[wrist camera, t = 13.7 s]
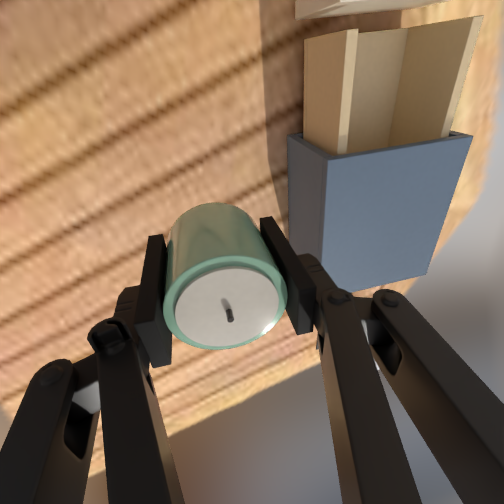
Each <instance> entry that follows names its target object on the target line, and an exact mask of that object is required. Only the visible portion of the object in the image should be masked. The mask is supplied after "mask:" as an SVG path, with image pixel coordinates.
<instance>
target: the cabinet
mask: <svg viewBox="0 0 504 504" xmlns="http://www.w3.org/2000/svg"><path fill="white" fill-rule="evenodd" d="M472 139H473V136H472V135H467V134H463V133H459V132H455V131H451V130H450V132H449V136H448V137H445V138H439V139H433V140H427V141H421V142H415V143H409V144H403V145H397V146H391V147H385V148H379V149H373V150H367V151H361V152H355V153H349V154H343V155H337V156H332V155H330V154H328V153H326V152H325V151H323V150H321V149H319V148H318V147H316V146H314V145H312V144H311V143H309V142H307V141H305V140H304V139H303V133H298V134H291V135H287V158H288V208H289V244H290V245H291V247H292V248H293V250H294V252H295V253H296V255H301V254H306V253H309V254H311V255H313V256H314V257H316V258H317V259H318V261H319V262H320V263H321V265H322V266H323V268H324V269H325V270H326V272H327V273H328V274H329V276H330V277H331V278H332V280H333V281H334V283H335V284H336V285H337V287H338V288H341V289H344V290H346V291H348V292H349V293H351V292H355V291H359V290H363V289H367V288H372V287H376V286H380V285H384V284H389V283H393V282H397V281H401V280H406V279H410V278H414V277H418V276H422V275H426V273H427V270H428V267H429V264H430V261H431V258H432V255H433V252H434V249H435V247H436V244H437V241H438V238H439V235H440V232H441V229H442V226H443V223H444V220H445V217H446V215H447V212H448V209H449V206H450V203H451V200H452V197H453V194H454V191H455V188H456V185H457V182H458V180H459V177H460V174H461V171H462V168H463V165H464V162H465V159H466V156H467V153H468V150H469V147H470V145H471V142H472Z"/></svg>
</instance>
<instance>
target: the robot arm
mask: <svg viewBox="0 0 504 504" xmlns="http://www.w3.org/2000/svg"><path fill="white" fill-rule="evenodd" d="M260 233H261V235H262V237H263V239H264V241H265V243H266V245H267V247H268V249H269V251H270V253H271V255H272V257H273V259H274V261H275V263H276V265H277V266H278V268H279V270H280V272H281V274H282V276H283V278H284V280H285V283H286V286H287V291H288V299H287V304H286V308H285V309H286V311H287V314H288V316H289V318H290V320H291V323H292V325H293V327H294V329H295V332H296V334H297V335H301V334H305V333H310V332H313V325H315V327H316V329H317V331H318V335H317V345H316V349H319V354H320V360H321V366H322V373H323V379H324V385H325V392H326V399H327V405H328V412H329V418H330V424H331V431H332V437H333V444H334V450H335V456H336V463H337V470H338V476H339V483H340V489H341V496H342V502H343V504H422V502H421V499H420V496H419V493H418V490H417V487H416V484H415V481H414V478H413V475H412V472H411V469H410V466H409V463H408V460H407V457H406V454H405V451H404V449H403V445H402V442H401V439H400V436H399V433H398V430H397V427H396V424H395V421H394V418H393V415H392V412H391V409H390V406H389V403H388V400H387V397H386V394H385V391H384V388H383V385H382V383H381V380H380V376H379V374H378V370H377V367H376V364H375V362H376V363H377V365H378V366H379V368H380V369H381V371H382V373H383V374H384V376H385V378H386V379H387V381H388V382H389V384H390V386H391V387H392V389H393V390H394V392H395V394H396V395H397V397H398V398H399V400H400V401H401V404H402V405H403V407H404V408H405V410H406V412H407V413H408V415H409V416H410V418H411V420H412V421H413V423H414V424H415V426H416V428H417V429H418V431H419V433H420V434H421V436H422V437H423V439H424V441H425V442H426V444H427V446H428V447H429V449H430V450H431V452H432V454H433V455H434V457H435V458H436V460H437V462H438V463H439V465H440V466H441V468H442V470H443V471H444V473H445V475H446V476H447V478H448V479H449V481H450V482H451V484H452V486H453V488H454V489H455V490H456V492H457V494H458V495H459V497H460V499H461V500H462V502H463V504H504V404H503V403H502V402H501V401H500V400H499V399H498V397H497V396H496V395H495V394H494V393H493V392H492V391H491V390H490V389H489V388H488V387H487V386H486V384H485V383H484V382H483V381H482V380H481V379H480V378H479V377H478V376H477V375H476V374H475V373H474V372H473V371H472V369H470V367H469V366H468V365H467V364H466V363H465V362H464V361H463V360H462V358H461V357H460V356H459V355H458V354H457V353H456V352H455V351H454V350H453V349H452V348H451V347H450V345H449V344H448V343H447V342H446V341H445V340H444V339H443V338H442V337H441V336H440V335H439V333H438V332H437V331H436V330H435V329H434V328H433V327H432V326H431V325H430V324H429V323H428V322H427V321H426V319H424V317H423V316H422V315H421V314H420V313H419V312H418V311H417V310H416V309H415V308H414V306H413V305H412V304H411V303H410V302H409V301H408V300H407V299H406V298H405V297H404V296H403V295H402V294H400V293H398V292H396V291H394V290H389V289H381V290H378V291H376V292H375V293H374V294H373V298H362V297H353V296H352V295H351V294H350V293H349V292H348V291H346V290H344V289H341V288H338V287H337V285H336V284H335V283H334V281H333V280H332V278H331V277H330V276H329V274H328V273H327V272H326V270H325V269H324V268H323V266H322V265H321V263H320V262H319V261H318V259H317V258H316V257H314V256H313V255H311V254H309V253H306V254H301V255H296V253H295V252H294V250H293V248H292V247H291V245H290V244H289V242H288V241H287V239H286V237H285V236H284V234H283V233H282V231H281V230H280V228H279V226H278V225H277V223H276V222H275V220H274V219H273V217H272V216H270V217H264V218H260ZM166 254H167V247H166V244H165V240H164V237H163V234H159V235H153V236H149V238H148V244H147V249H146V255H145V260H144V266H143V272H142V277H141V283H140V285H138V286H133V287H127V288H125V289H124V290H123V291H122V292H121V294H120V295H119V297H118V301H117V306H116V308H115V313H114V316H113V317H112V318H108V319H105V320H103V321H101V322H99V323H97V324H96V325H95V326H94V327H93V328H92V329H91V330H90V332H89V333H88V337H87V340H88V341H89V343H90V345H91V346H92V348H93V350H94V351H95V353H94V354H92V355H90V356H88V357H86V358H84V359H82V360H80V361H78V362H76V363H73V364H72V363H71V361H70V360H67V359H57V360H55V361H52V362H49V363H48V364H46V365H45V366H43V367H42V368H41V369H40V370H38V371H37V372H36V373H35V375H34V376H33V378H32V379H31V381H30V383H29V385H28V388H27V390H26V392H25V395H24V397H23V399H22V402H21V404H20V406H19V409H18V411H17V413H16V416H15V418H14V420H13V423H12V425H11V427H10V430H9V432H8V435H7V437H6V439H5V442H4V444H3V446H2V448H1V451H0V504H83V500H84V495H85V489H86V484H87V478H88V473H89V468H90V462H91V457H92V451H93V446H94V441H95V435H96V430H97V425H98V419H99V414H100V410H101V418H102V430H103V442H104V454H105V466H106V477H107V489H108V500H109V504H185V502H184V498H183V495H182V491H181V487H180V483H179V479H178V476H177V472H176V468H175V464H174V461H173V457H172V453H171V449H170V446H169V441H168V438H167V434H166V430H165V426H164V423H163V419H162V415H161V411H160V407H159V404H158V400H157V396H156V392H155V388H154V385H153V381H152V377H151V375H150V373H149V363H151V365H152V367H153V368H157V367H161V366H166V365H170V364H171V356H172V332H171V331H170V330H169V328H168V327H167V324H166V322H165V319H164V315H163V296H164V282H165V268H166ZM374 360H375V361H374Z"/></svg>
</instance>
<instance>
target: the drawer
mask: <svg viewBox="0 0 504 504" xmlns="http://www.w3.org/2000/svg"><path fill="white" fill-rule="evenodd" d="M447 1H451V0H297V1H295V20H304V19H314V18H325V17H335V16H345V15H355V14H366V13H376V12H386V11H396V10H407V9H417V8H422V7H426V6H430V5H434V4H438V3H442V2H447ZM483 17H484V16H483V15H482V16H473V17H467V18H462V19H456V20H450V21H444V22H438V23H433V24H427V25H421V26H415V27H410V28H400V29H391V30H382V31H372V32H363V33H358V29H348V30H343V31H339V32H334V33H330V34H325V35H321V36H316V37H312V38H308V39H305V40H304V116H303V139H304V140H305V141H307V142H309V143H311V144H312V145H314V146H316V147H318V148H319V149H321V150H323V151H325V152H326V153H328V154H330V155H332V156H337V155H343V154H349V153H355V152H361V151H367V150H373V149H379V148H385V147H391V146H397V145H403V144H409V143H415V142H421V141H427V140H433V139H439V138H445V137H448V136H449V132H450V129H451V126H452V122H453V119H454V116H455V112H456V109H457V105H458V102H459V99H460V95H461V92H462V88H463V85H464V82H465V78H466V75H467V71H468V68H469V65H470V61H471V58H472V54H473V51H474V48H475V44H476V41H477V37H478V34H479V31H480V27H481V24H482V20H483Z"/></svg>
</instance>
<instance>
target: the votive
mask: <svg viewBox="0 0 504 504" xmlns="http://www.w3.org/2000/svg"><path fill="white" fill-rule="evenodd" d="M287 299H288V291H287V286H286V283H285V280H284V278H283V276H282V274H281V272H280V270H279V268H278V266H277V265H276V263H275V261H274V259H273V257H272V255H271V253H270V251H269V249H268V247H267V245H266V243H265V241H264V239H263V237H262V235H261V233H260V231H259V229H258V227H257V225H256V223H255V222H254V220H253V219H252V218H251V217H250V216H249V215H248V214H247V213H246V212H245V211H243V210H242V209H240V208H238V207H236V206H233V205H230V204H226V203H206V204H202V205H199V206H196V207H194V208H192V209H190V210H188V211H186V212H185V213H184V214H182V215H181V216H180V217H179V218H178V219H177V220H176V222H175V223H174V224H173V226H172V228H171V230H170V232H169V235H168V240H167V254H166V268H165V282H164V296H163V315H164V319H165V322H166V324H167V327H168V328H169V330H170V331H171V332H172V333H173V334H174V335H175V336H176V337H177V338H178V339H180V340H181V341H183V342H185V343H187V344H189V345H191V346H194V347H198V348H202V349H210V350H222V349H230V348H235V347H239V346H242V345H245V344H248V343H250V342H252V341H254V340H256V339H258V338H260V337H261V336H263V335H264V334H265V333H267V332H268V331H269V330H270V329H271V328H273V327H274V325H275V324H276V323H277V322H278V321H279V319H280V318H281V316H282V314H283V312H284V310H285V308H286V304H287Z"/></svg>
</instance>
